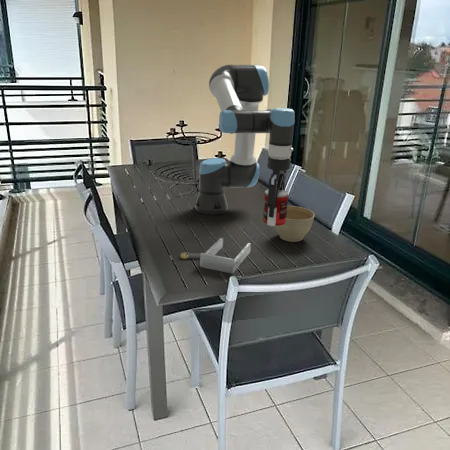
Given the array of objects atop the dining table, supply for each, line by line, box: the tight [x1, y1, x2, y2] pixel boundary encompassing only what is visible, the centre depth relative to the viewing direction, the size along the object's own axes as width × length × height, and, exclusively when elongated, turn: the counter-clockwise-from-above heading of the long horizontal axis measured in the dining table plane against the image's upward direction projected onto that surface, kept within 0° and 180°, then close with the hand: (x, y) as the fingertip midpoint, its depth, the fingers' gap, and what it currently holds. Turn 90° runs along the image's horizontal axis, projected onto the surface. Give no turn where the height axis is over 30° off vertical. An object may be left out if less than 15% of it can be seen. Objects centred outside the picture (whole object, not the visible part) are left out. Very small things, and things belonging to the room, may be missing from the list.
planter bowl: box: [274, 205, 315, 243], centre depth 180 cm, size 16×16×11 cm
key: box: [180, 252, 202, 260], centre depth 162 cm, size 8×3×1 cm, turn 94°
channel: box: [199, 237, 252, 274], centre depth 161 cm, size 12×19×5 cm, turn 159°
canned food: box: [262, 188, 289, 227], centre depth 155 cm, size 8×8×11 cm
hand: (274, 221), depth 157 cm, fingers closed on canned food, 8 cm apart
